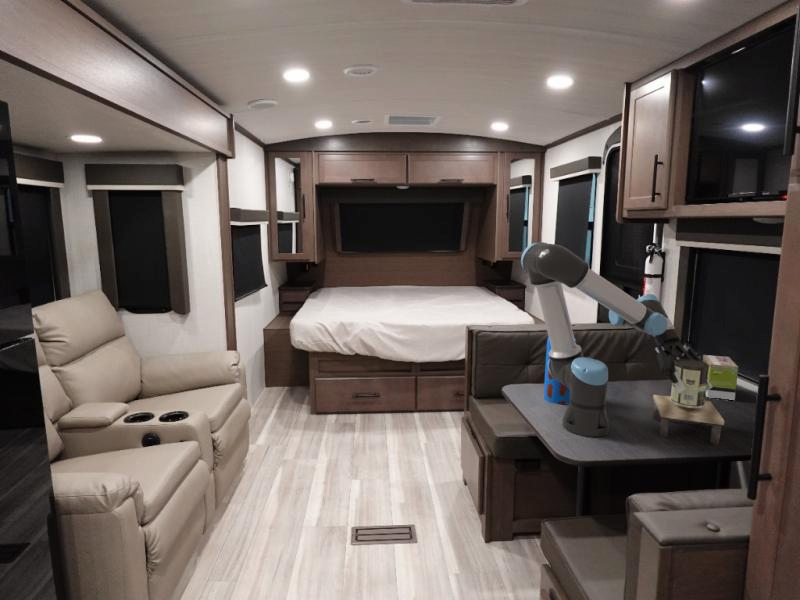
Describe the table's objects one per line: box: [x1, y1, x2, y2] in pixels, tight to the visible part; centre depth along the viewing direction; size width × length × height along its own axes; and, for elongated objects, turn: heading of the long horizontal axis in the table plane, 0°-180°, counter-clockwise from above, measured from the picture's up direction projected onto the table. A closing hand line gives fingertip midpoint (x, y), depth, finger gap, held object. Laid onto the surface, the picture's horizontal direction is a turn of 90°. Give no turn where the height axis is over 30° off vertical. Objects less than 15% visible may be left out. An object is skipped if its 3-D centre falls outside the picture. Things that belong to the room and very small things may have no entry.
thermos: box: [543, 336, 577, 405], centre depth 196 cm, size 11×11×25 cm
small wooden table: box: [652, 394, 725, 446], centre depth 170 cm, size 18×18×8 cm
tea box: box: [702, 354, 739, 401], centre depth 206 cm, size 15×10×15 cm
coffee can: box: [670, 358, 709, 408], centre depth 168 cm, size 10×10×14 cm
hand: (696, 390), depth 165 cm, fingers closed on coffee can, 10 cm apart
